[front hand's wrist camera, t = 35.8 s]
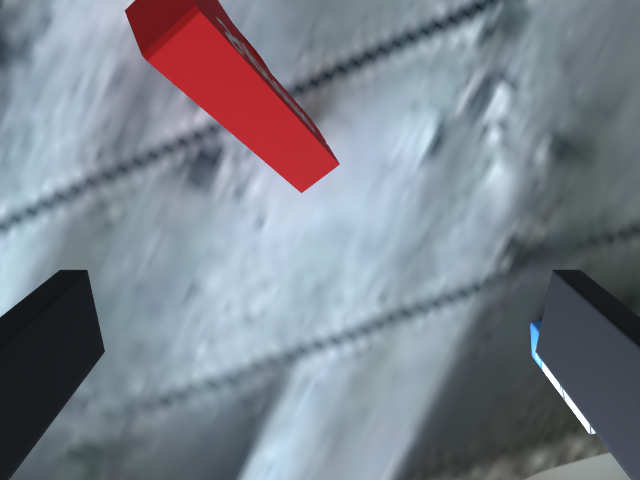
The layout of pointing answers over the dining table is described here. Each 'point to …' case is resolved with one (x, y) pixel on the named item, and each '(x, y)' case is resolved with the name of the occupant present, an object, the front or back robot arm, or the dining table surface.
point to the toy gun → (230, 84)
